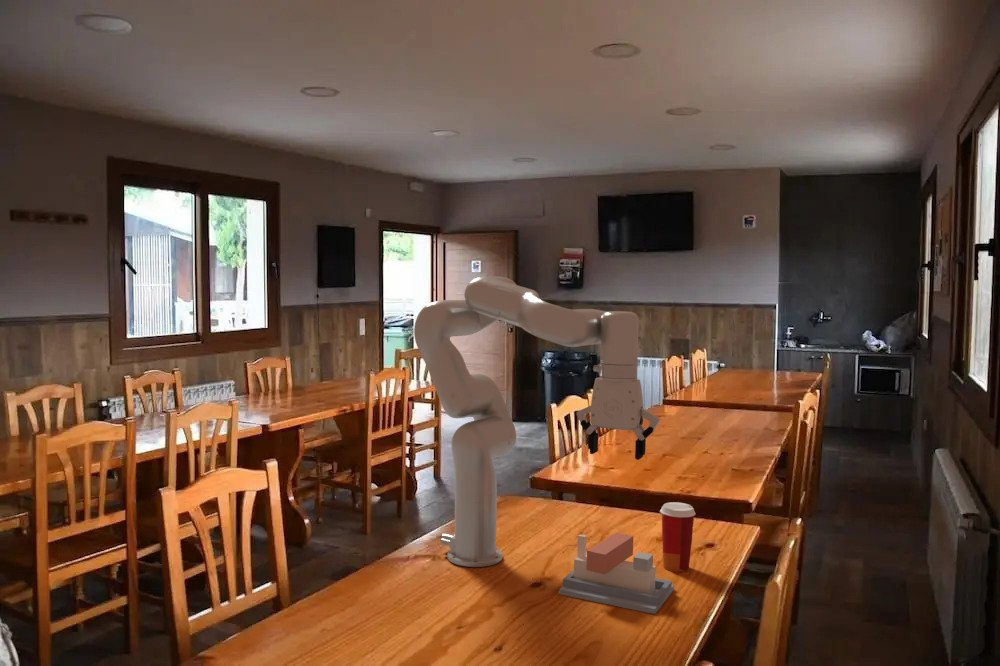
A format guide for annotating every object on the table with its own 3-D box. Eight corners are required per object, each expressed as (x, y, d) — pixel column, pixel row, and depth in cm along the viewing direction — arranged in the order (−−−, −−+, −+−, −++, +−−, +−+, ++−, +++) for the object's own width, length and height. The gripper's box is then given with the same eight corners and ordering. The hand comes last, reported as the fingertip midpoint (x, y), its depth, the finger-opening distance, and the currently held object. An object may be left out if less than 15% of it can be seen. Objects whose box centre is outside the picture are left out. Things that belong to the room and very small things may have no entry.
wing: (615, 550, 172) (616, 532, 172) (632, 554, 170) (633, 536, 170) (586, 570, 160) (586, 550, 160) (604, 574, 158) (605, 554, 158)
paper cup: (688, 561, 183) (690, 501, 183) (697, 574, 176) (700, 511, 175) (654, 561, 183) (656, 501, 182) (662, 573, 176) (664, 511, 175)
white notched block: (573, 582, 167) (574, 538, 166) (581, 575, 171) (582, 532, 170) (648, 597, 160) (650, 551, 159) (654, 590, 164) (656, 544, 163)
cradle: (558, 594, 163) (559, 582, 163) (583, 572, 176) (583, 561, 175) (654, 614, 154) (655, 601, 154) (673, 589, 167) (674, 577, 166)
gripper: (571, 371, 163) (569, 454, 164) (655, 377, 155) (652, 464, 156) (585, 367, 170) (583, 447, 171) (665, 373, 162) (662, 457, 163)
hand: (616, 455), depth 163 cm, fingers open, 9 cm apart
